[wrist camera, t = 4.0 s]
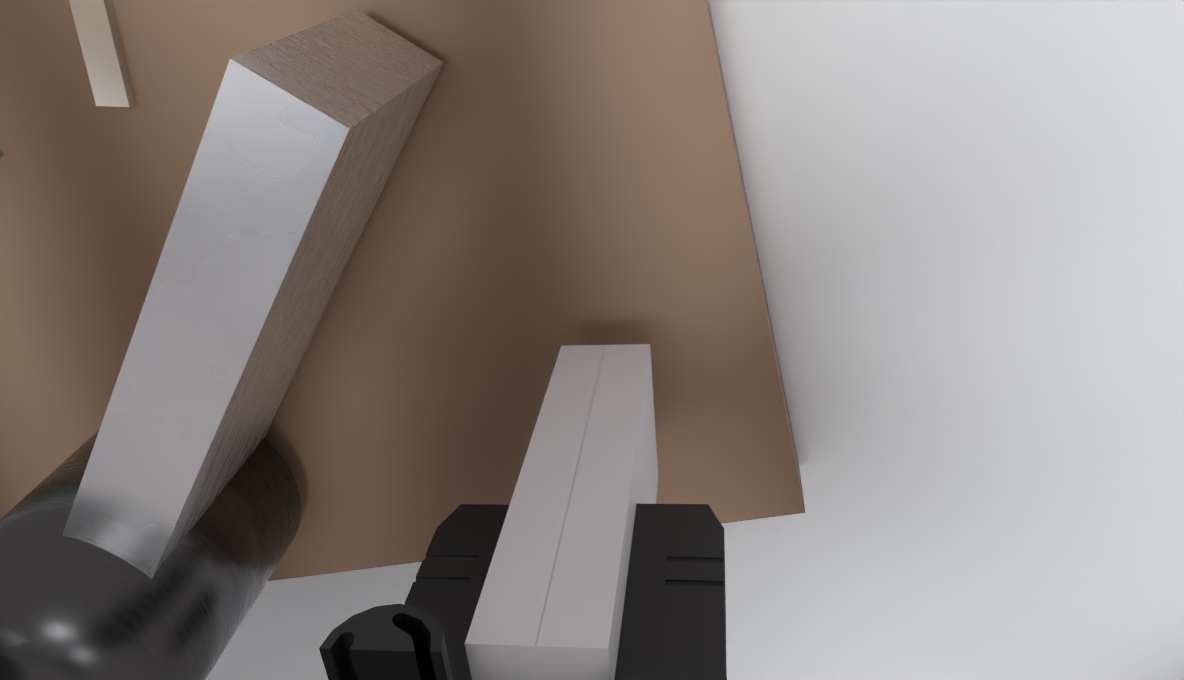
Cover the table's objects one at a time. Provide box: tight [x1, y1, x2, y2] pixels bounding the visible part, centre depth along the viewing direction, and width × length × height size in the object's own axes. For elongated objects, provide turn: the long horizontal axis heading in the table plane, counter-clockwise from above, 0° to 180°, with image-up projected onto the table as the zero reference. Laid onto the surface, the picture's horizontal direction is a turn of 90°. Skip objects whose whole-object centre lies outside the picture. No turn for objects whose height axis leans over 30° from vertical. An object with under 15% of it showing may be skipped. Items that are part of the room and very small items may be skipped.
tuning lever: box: [0, 10, 443, 680], centre depth 14 cm, size 13×4×5 cm, turn 150°
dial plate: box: [0, 0, 805, 581], centre depth 18 cm, size 24×14×2 cm, turn 105°
